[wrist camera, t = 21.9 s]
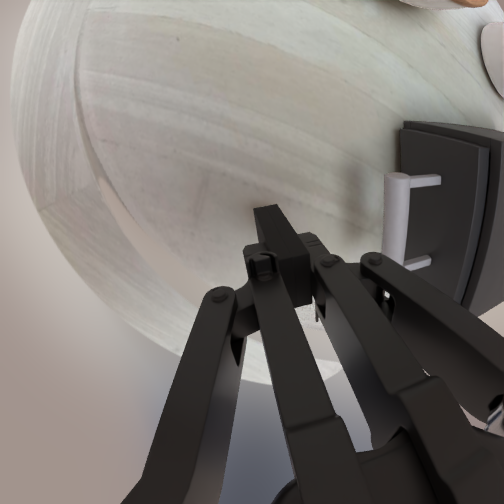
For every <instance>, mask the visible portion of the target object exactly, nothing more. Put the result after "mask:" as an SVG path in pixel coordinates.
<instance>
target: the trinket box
mask: <svg viewBox="0 0 504 504" xmlns="http://www.w3.org/2000/svg"><path fill="white" fill-rule="evenodd" d="M399 1H401V2H404V3H406V4H409V5H412V6H416V7H419V8H425V9H432V10H448V9H460V8H466V7H471V8H475V7H482V6H484V5H486V4H487V2H488V0H399Z"/></svg>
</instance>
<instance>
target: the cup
mask: <svg viewBox="0 0 504 504" xmlns="http://www.w3.org/2000/svg"><path fill="white" fill-rule="evenodd" d="M481 50H482V55H483V59H484V63H485V66H486V69H487V72H488V74H489V76H490V79H491V81H492V83H493V85H494V86H495V88H496V90H497V91H498V92H499V94H500V95H501V96H502V97H503V98H504V22H497V23H489V24H487V25H486V26H485V27H484V28H483V30H482V33H481Z"/></svg>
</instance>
